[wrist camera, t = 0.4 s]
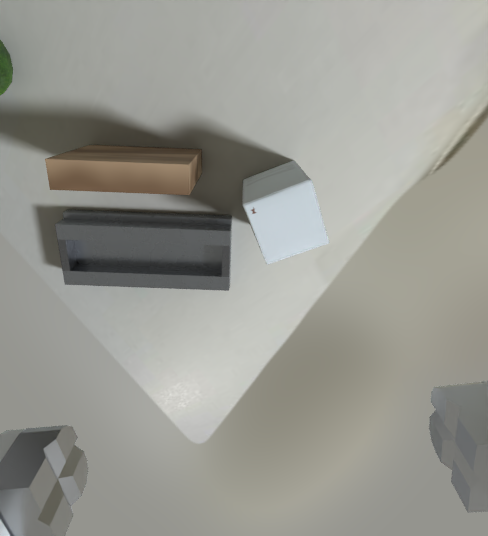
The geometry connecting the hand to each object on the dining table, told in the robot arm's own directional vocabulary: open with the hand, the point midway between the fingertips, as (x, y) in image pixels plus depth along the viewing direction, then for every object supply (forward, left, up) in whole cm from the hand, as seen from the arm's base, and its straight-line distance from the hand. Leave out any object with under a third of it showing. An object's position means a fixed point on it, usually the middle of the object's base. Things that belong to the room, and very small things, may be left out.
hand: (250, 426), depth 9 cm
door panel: (+1, -13, -44) cm, 46 cm away
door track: (+13, -13, -44) cm, 48 cm away
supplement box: (+5, +4, -45) cm, 45 cm away
